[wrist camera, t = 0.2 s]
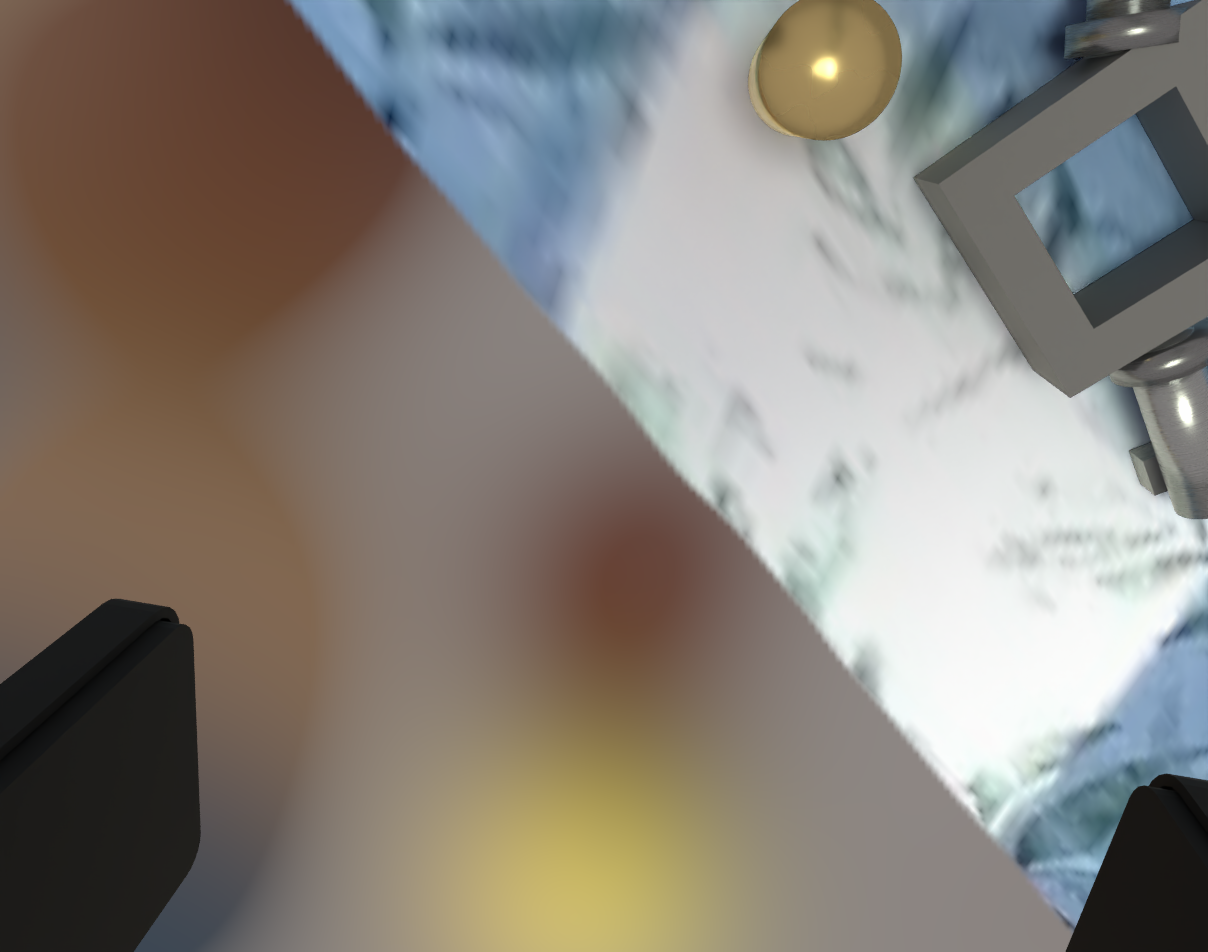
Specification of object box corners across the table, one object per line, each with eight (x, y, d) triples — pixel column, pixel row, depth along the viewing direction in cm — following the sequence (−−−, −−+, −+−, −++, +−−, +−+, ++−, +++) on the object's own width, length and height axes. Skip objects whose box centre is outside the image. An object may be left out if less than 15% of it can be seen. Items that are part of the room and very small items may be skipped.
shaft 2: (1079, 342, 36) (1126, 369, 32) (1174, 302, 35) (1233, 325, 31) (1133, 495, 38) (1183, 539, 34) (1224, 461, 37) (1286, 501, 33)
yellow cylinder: (819, -7, 33) (853, -44, 25) (879, 89, 34) (928, 80, 26) (727, 67, 34) (733, 52, 27) (786, 158, 35) (808, 168, 28)
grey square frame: (1148, 11, 32) (1206, -3, 28) (1263, 230, 34) (1331, 242, 30) (913, 177, 35) (938, 184, 31) (1033, 370, 37) (1070, 398, 33)
